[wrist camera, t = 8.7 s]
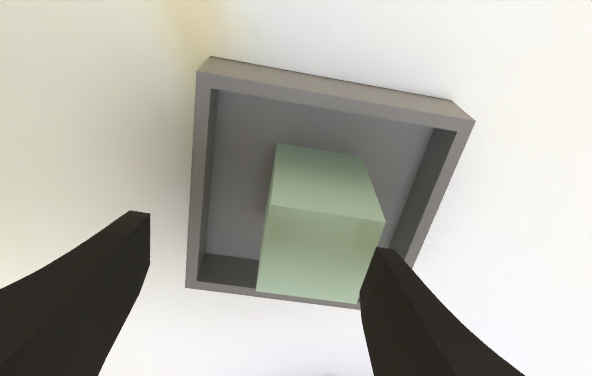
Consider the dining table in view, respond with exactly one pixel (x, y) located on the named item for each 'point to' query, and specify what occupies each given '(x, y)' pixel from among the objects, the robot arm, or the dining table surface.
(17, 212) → the dining table surface
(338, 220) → the mint block
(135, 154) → the dining table surface
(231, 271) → the gray tray
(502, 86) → the dining table surface
